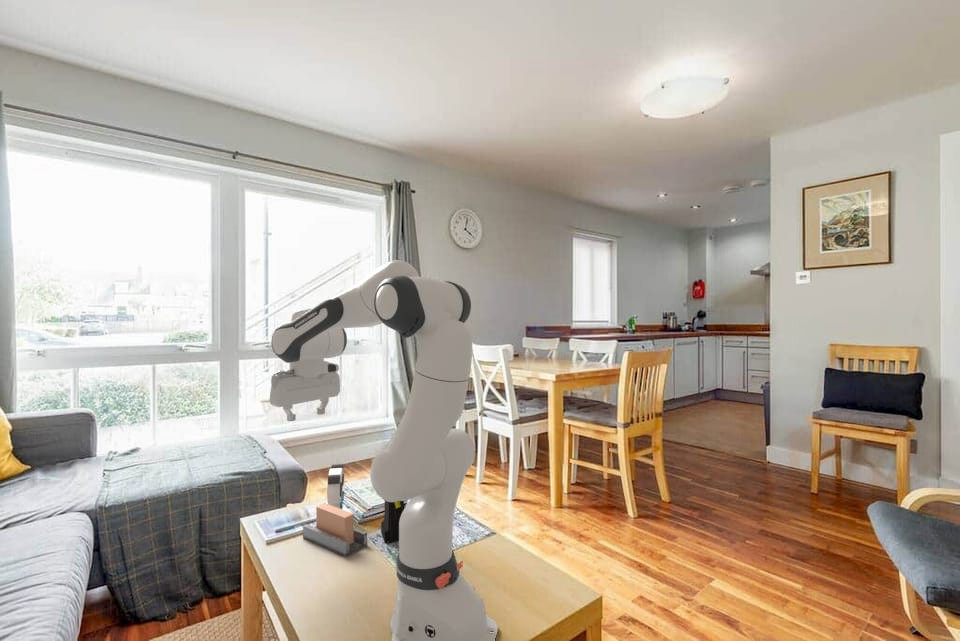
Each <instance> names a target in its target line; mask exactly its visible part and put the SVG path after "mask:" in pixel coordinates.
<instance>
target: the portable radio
mask: <svg viewBox="0 0 960 641" xmlns="http://www.w3.org/2000/svg"><path fill="white" fill-rule="evenodd" d="M404 509H405V500H404V501H397V502H388V501H385V500H384V510H383V511H384V515H383V516H384V518H383V520H382V521H381V523H380V533H381V536H382V539H383V543H394V542H399V521H400V517H401V514H402V512H403V511H404Z"/></svg>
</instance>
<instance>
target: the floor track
mask: <svg viewBox="0 0 960 641" xmlns="http://www.w3.org/2000/svg"><path fill="white" fill-rule="evenodd" d="M302 538H303V539H304V540H307V541H309V542H311V543H312V544H313V543H314V544H315V545H318V546H320V547H322V548H325V549H326V550H330V551H331V552H334V553H336V554H338V555H340V556H342V557H344V558H347V557H349V556H350V555H353V554H355V553H356V552H358V551H359V550H361V549H362V548H364V547H367V546H368V532H367V531H364V530H361V529H359V528H357V527H355V526H354V542H353V543H352V544H350V542H348V541H346V540H343V539H341V538H339V537H336V536H334V535H332V534H329V533H327V532H324V531H322V530H320V529H317V528H316V526H312V525H310V524H307V523H306V524H304V525H302Z"/></svg>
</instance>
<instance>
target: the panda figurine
mask: <svg viewBox="0 0 960 641" xmlns="http://www.w3.org/2000/svg"><path fill="white" fill-rule="evenodd" d="M344 485H345V474H344V464H343V463H338V464H331V468H330V469H329V471H328V475H327V489H326V490H327V492H326V494H327V496H326V498H327V499H326V500H327V504H329V505H331V506H334V507H337V508H339V509H342V510H345V511H348V512H349V510H348V509H347V508H348V507H343V506H344V505H343V504H344V498H345V491H344V490H343V489H344Z"/></svg>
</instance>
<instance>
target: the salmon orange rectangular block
mask: <svg viewBox="0 0 960 641" xmlns="http://www.w3.org/2000/svg"><path fill="white" fill-rule="evenodd" d="M354 516H355V513H354V514H353V513H350V512H348V511H345V510H342V509H339V508H337V507H334V506H331V505H329V504H328V503H327V502H326V503H322V504H321V505H317V506H316V516H315V517H316V518H315V520H316V526H315V528H317V529H320V530H322V531H324V532H327V533H329V534H332V535H334V536H336V537H339V538H341V539H343V540H346V541H348V542H350V544H352V543H353V542H354V527H355V526H354V525H355V524H354V523H355V522H354V520H355V517H354Z"/></svg>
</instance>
